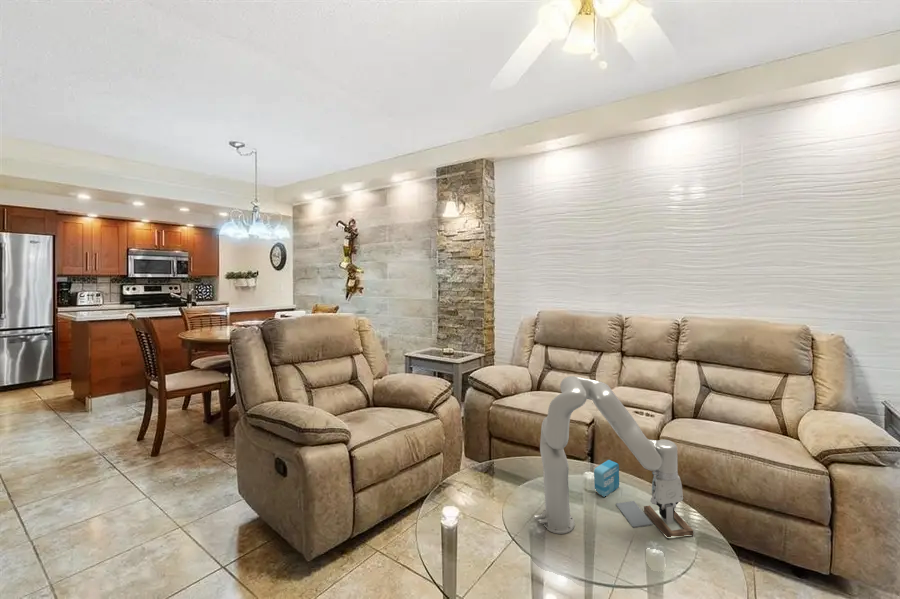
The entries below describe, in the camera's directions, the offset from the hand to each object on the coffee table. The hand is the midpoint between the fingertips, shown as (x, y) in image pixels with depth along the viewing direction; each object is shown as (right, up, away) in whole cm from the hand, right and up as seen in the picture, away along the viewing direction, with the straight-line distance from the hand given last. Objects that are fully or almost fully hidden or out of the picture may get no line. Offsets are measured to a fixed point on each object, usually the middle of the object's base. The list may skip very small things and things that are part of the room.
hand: (666, 515), depth 159 cm
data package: (-14, -1, +23) cm, 27 cm away
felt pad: (-10, -3, +6) cm, 12 cm away
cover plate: (0, -3, 0) cm, 3 cm away
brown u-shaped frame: (0, -3, 0) cm, 3 cm away
